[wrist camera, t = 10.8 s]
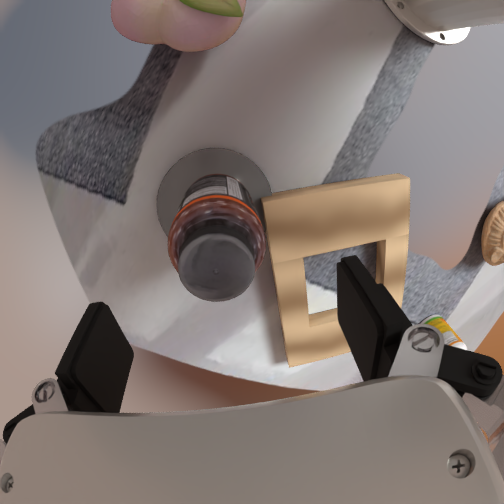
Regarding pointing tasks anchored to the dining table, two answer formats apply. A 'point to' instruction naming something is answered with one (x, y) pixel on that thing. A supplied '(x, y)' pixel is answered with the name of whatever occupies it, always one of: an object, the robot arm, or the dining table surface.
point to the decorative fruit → (178, 22)
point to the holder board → (330, 239)
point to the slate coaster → (208, 164)
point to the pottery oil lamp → (494, 236)
